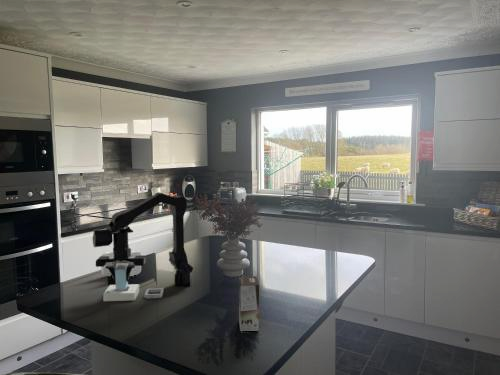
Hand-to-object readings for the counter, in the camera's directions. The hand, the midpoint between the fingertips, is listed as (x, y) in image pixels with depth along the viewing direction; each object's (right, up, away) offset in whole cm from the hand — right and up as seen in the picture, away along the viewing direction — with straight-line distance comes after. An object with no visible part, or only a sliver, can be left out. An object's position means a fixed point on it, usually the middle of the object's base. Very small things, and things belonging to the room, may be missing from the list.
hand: (121, 281), depth 157 cm
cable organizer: (-9, -4, +26) cm, 27 cm away
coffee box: (+52, -9, -25) cm, 58 cm away
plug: (0, -3, 0) cm, 3 cm away
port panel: (0, -6, +1) cm, 6 cm away
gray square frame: (+13, -6, +2) cm, 14 cm away
